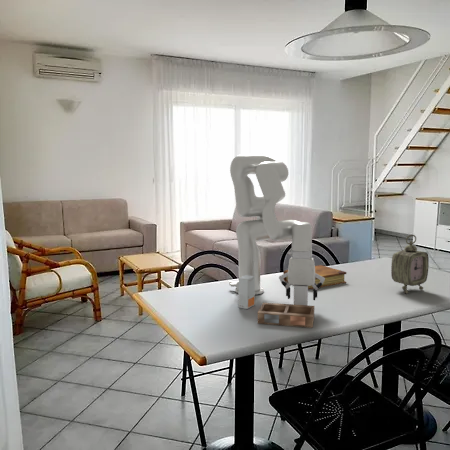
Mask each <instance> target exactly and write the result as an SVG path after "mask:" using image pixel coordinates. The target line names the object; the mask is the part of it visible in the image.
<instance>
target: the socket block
mask: <svg viewBox="0 0 450 450" xmlns="http://www.w3.org/2000/svg"><path fill="white" fill-rule="evenodd" d="M314 320H315V305H309V304H308V305H294V303H291V304H290V303H280V302H279V303H278V302H277V303H276V302H275V303H274V302H262V303H261V305H260V307H259V309H258V311H257V324H258V325H271V326H285V327H295V328H296V327H297V328H307V329H308V328H309V329H312V328H313V327H314Z"/></svg>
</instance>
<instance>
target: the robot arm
mask: <svg viewBox="0 0 450 450" xmlns="http://www.w3.org/2000/svg"><path fill="white" fill-rule="evenodd" d="M229 171H230V172H229V173H230V177H231V181H232V184H233V187H234V196H235V204H236V211H237V214H238V216H240V217H242V218H256V219H250V220H249V219H248V220H244V221H242V222H240V223H238V225H237V226H236V230H235V234H236V239H237V247H238V249H237V250H238V279H239V278H240V277H242V276H245V275H249V276H255V296H256V295H261V294H263V293H264V292H265V289H264V288H263V287H262V286H261V250H260V248H259V246H258V244H257V242H263V241H269V240H272V241H276V242H278V241H287V240H291V250H289V251H287V255H288V256H291V257H290V258H289V260H288V261H289V262H288V268H287V270H288V272H287V273H285V274H283V273H282V274H281V275H279V276H278V279H279V281H280V283H281V285H282V286H283V287H284V288H285V297H287V300H290V299H291V286H294V285H306V286H311V285H312V287H313V288H314V289H312V290H313V291H312V292H313V293H312V295H313V296H312V300H313V301H316V298H318V289H321V288H322V287H321V286H322V284H323V282H324V281H325V278H324V277H322V276H320V275H318V274H316V273H315V266H316V265H315V260H314V257H312V256H313V248H312V247H313V241H312V240H313V227H312V224H311V222H307V221H299V220H295V219H286V220H278V218H277V215H276V212H275V208H276V205H277V203H279V202H281V201H282V200H284V199H285V197H286V191H285V189H284V186H283V184H282V183H283V182H285V181H287V179H288V178H289V168H288V167H287V165H286V164H285V163H284V162H283V161H281V160H279V159H277V158H275V157H272V156H270V155H268V154H263V153H262V154H261V153H260V154H255V153H242V154H238V155H236V156H234V158H233V159H232V161H231V163H230V167H229ZM249 175H255V176H256V180H257V181H258V184H259V185H258V186H259V187H260V190H261V192H262V194H255V186H254V183H253V180H252V179H251V178H250V177H249ZM287 276H288V282H286V281H284V279H283V278H285V277H287ZM315 277H316V278H318V279H320V282H319V283H318V284H316V283H315ZM229 286H230V287H231V288H232V287H235V289H234V290H235V291H234V292H235V293H236V294H238V295H239V280H236V281H234V280H230V281H229Z"/></svg>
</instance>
